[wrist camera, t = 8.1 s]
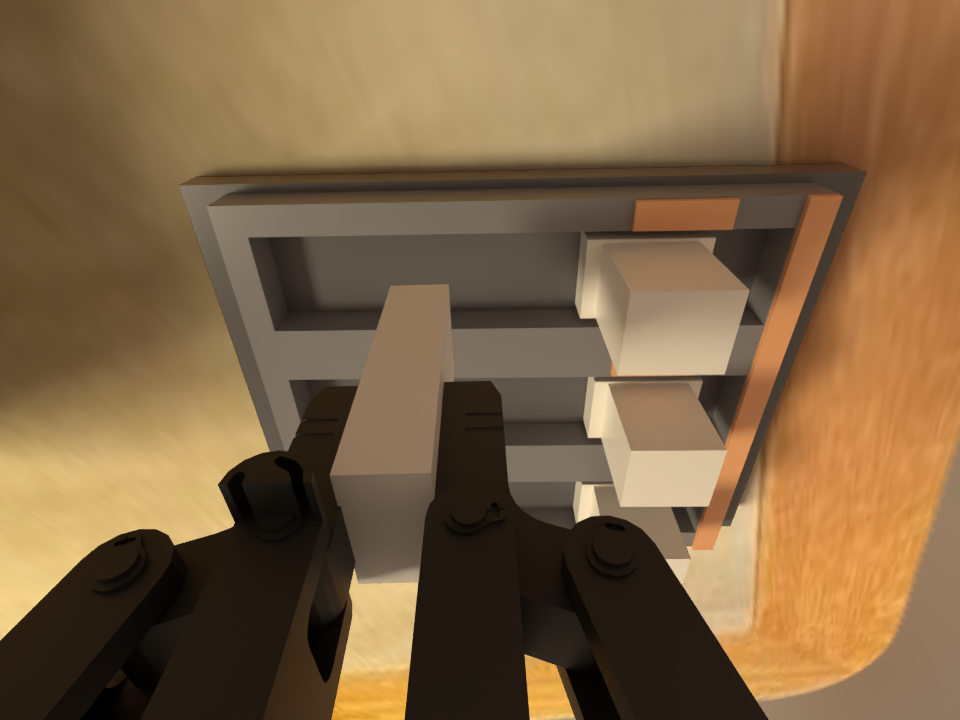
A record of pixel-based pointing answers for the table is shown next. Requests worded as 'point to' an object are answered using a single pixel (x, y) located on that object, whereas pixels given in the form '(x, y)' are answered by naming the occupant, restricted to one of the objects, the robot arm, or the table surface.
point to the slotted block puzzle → (514, 294)
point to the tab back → (635, 521)
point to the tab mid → (655, 439)
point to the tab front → (660, 300)
